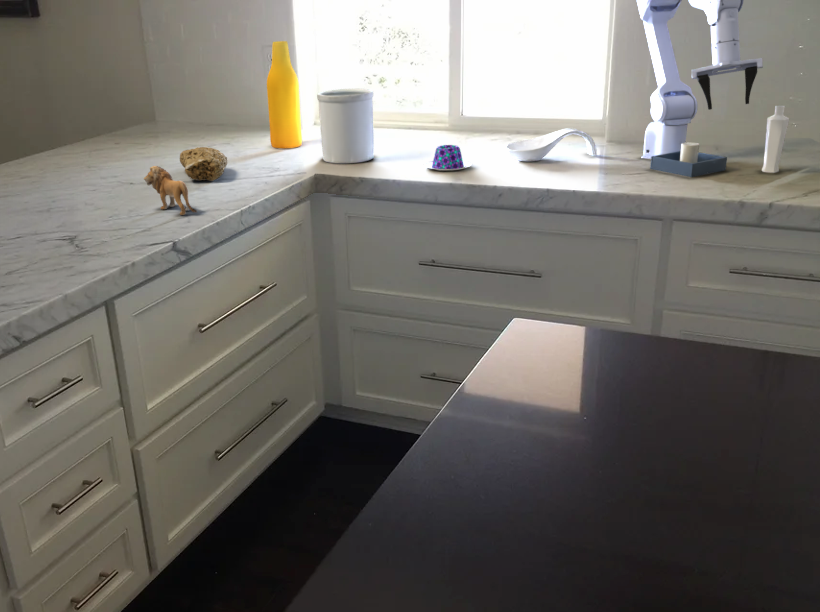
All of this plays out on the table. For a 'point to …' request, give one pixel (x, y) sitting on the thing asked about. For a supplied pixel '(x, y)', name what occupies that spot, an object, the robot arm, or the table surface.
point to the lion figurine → (168, 188)
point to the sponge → (203, 163)
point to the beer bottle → (283, 99)
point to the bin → (688, 164)
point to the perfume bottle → (774, 139)
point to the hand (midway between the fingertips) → (728, 106)
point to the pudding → (447, 159)
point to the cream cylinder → (689, 152)
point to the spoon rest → (545, 145)
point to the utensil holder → (346, 125)
